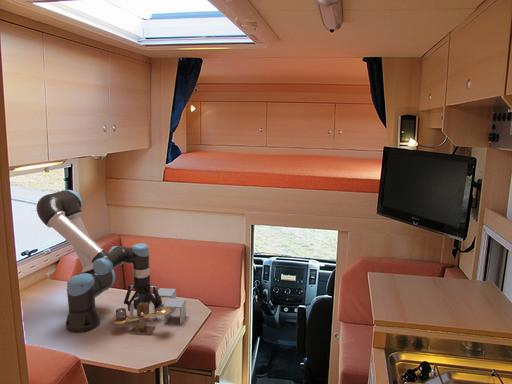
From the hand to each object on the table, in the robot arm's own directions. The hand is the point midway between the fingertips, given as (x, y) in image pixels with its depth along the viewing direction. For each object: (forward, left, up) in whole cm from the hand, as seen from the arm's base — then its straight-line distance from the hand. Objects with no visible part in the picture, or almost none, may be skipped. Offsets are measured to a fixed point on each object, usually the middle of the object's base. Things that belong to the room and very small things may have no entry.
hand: (143, 317), depth 199 cm
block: (0, 0, 0) cm, 0 cm away
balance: (+4, -12, 0) cm, 13 cm away
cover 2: (+16, 0, 0) cm, 16 cm away
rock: (-6, +15, -1) cm, 16 cm away
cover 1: (+8, +11, 0) cm, 14 cm away
